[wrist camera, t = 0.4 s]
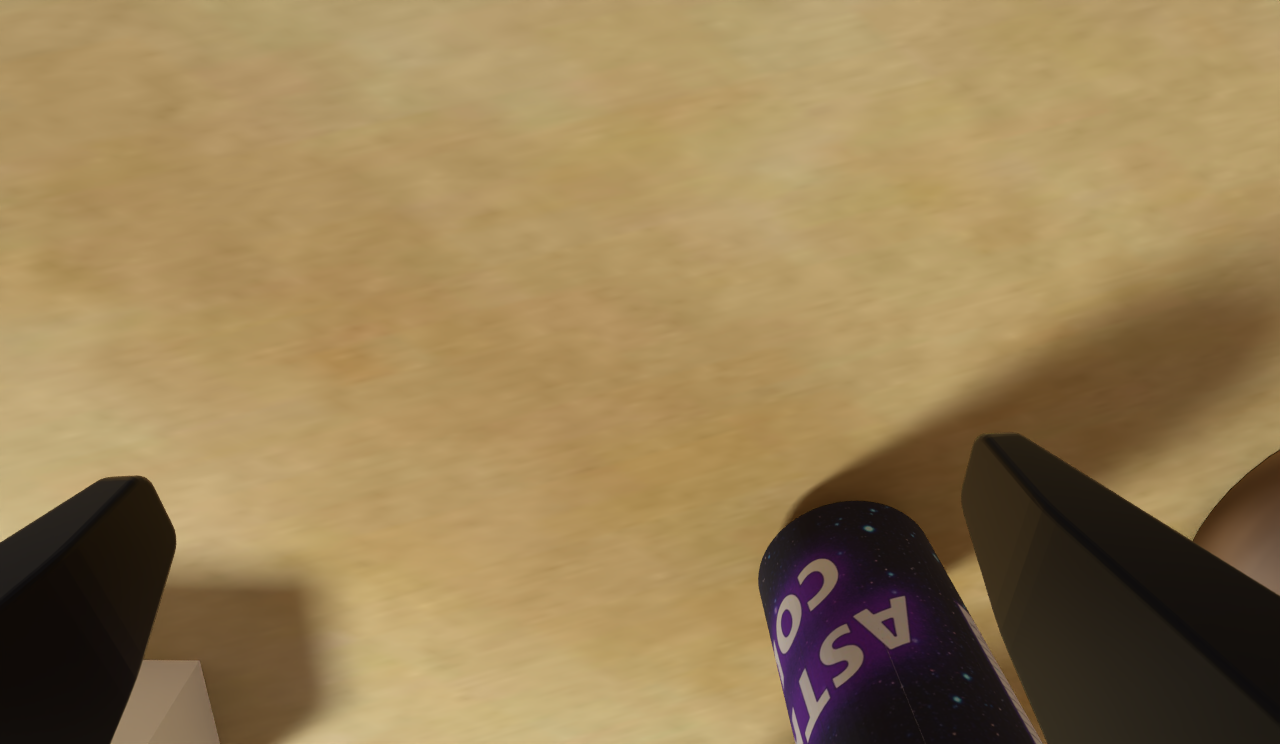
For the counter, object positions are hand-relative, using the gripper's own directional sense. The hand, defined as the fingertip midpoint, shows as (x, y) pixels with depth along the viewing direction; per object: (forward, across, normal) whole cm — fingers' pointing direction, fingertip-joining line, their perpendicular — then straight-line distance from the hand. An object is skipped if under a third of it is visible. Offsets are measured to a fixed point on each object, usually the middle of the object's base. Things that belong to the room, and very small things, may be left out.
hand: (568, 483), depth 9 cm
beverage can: (+12, -8, +15) cm, 21 cm away
